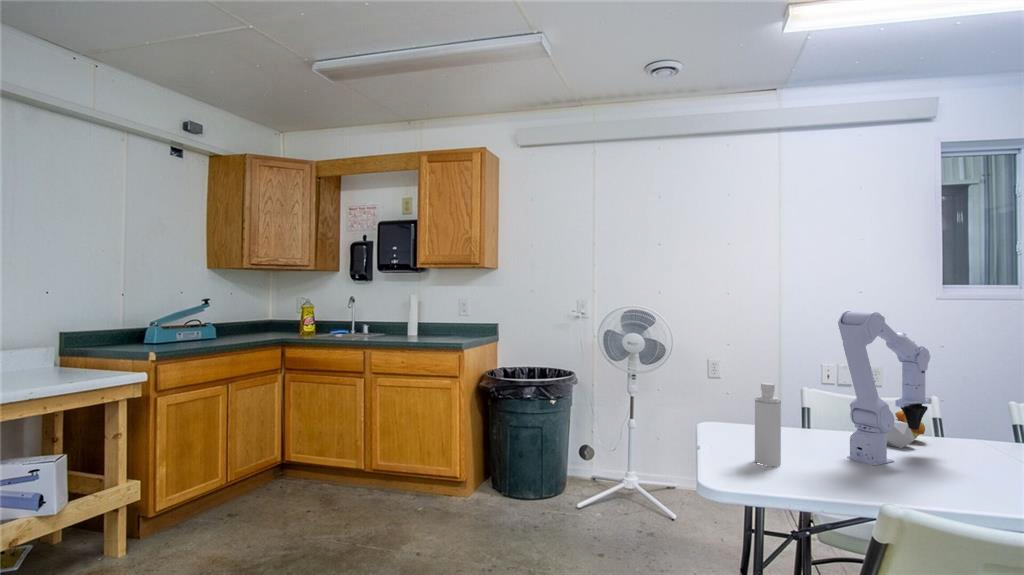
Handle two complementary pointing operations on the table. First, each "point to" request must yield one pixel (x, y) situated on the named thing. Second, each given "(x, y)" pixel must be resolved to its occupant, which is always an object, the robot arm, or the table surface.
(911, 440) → the die
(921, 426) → the cheeseburger
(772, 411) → the grey bottle
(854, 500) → the table surface
